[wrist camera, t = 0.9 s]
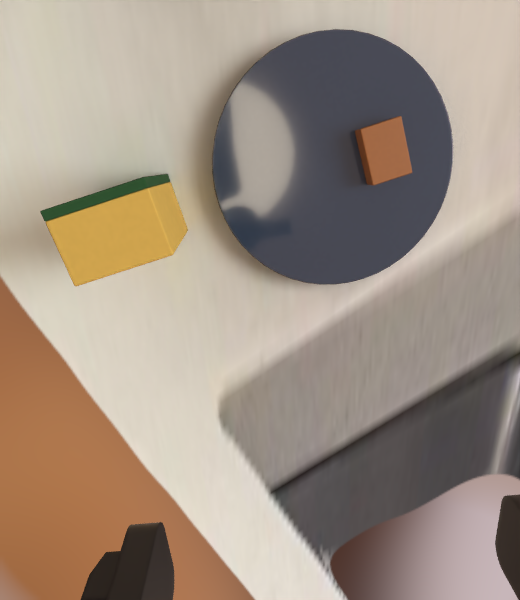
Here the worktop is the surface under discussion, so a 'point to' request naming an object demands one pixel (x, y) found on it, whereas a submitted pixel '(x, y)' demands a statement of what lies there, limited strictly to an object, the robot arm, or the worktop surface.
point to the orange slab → (384, 151)
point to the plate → (329, 157)
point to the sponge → (117, 228)
